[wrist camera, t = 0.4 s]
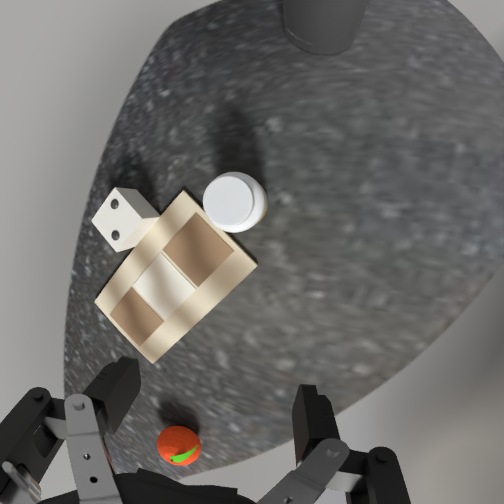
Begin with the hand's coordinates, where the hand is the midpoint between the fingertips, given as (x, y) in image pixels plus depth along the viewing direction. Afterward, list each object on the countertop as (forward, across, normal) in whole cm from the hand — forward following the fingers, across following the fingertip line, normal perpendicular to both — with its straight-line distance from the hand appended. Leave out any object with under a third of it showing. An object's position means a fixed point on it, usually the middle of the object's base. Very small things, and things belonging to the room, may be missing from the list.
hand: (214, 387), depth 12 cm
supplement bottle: (+21, +1, -8) cm, 22 cm away
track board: (+21, +10, +3) cm, 23 cm away
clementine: (+19, +6, +28) cm, 35 cm away
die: (+21, +14, -5) cm, 26 cm away
